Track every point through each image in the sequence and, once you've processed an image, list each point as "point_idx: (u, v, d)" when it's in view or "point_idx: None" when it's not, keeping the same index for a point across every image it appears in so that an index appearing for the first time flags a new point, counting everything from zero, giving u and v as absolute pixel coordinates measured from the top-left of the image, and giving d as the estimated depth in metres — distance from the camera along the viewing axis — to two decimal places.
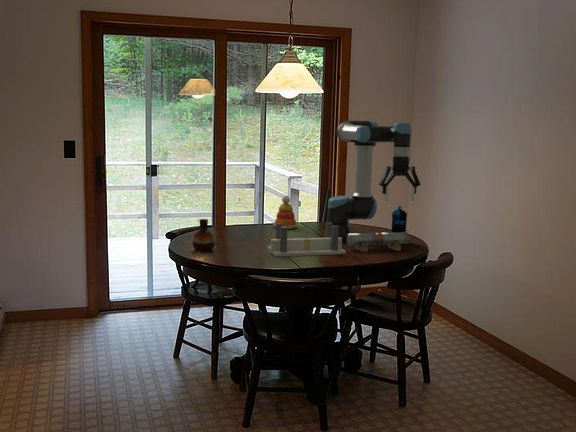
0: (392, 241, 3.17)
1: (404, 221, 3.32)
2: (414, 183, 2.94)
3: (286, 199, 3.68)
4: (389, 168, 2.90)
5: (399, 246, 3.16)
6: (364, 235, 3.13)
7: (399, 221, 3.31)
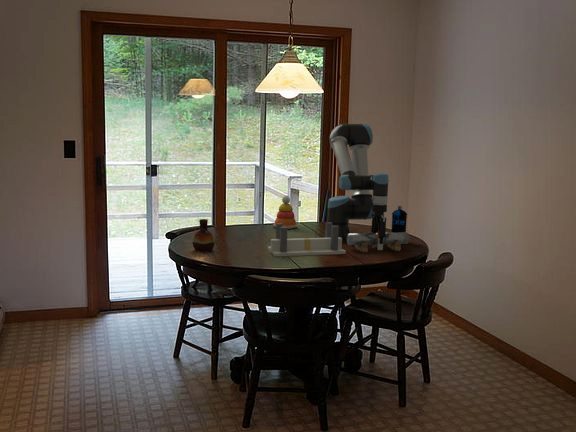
0: (392, 241, 3.17)
1: (404, 221, 3.32)
2: (379, 233, 3.13)
3: (286, 199, 3.68)
4: (372, 215, 3.21)
5: (399, 246, 3.16)
6: (364, 235, 3.13)
7: (399, 221, 3.31)
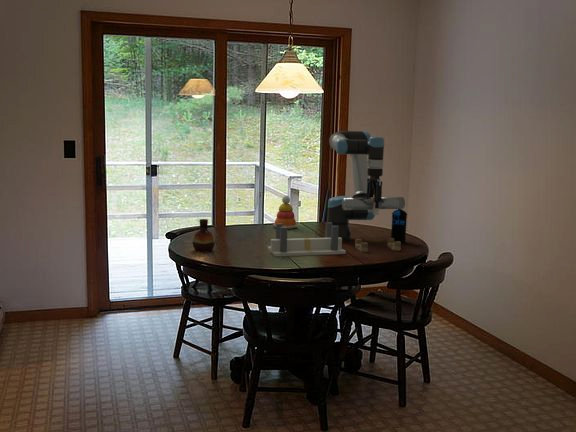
0: (388, 206, 3.13)
1: (404, 221, 3.32)
2: (374, 197, 3.09)
3: (286, 199, 3.68)
4: (367, 180, 3.17)
5: (399, 246, 3.16)
6: (360, 199, 3.09)
7: (399, 221, 3.31)
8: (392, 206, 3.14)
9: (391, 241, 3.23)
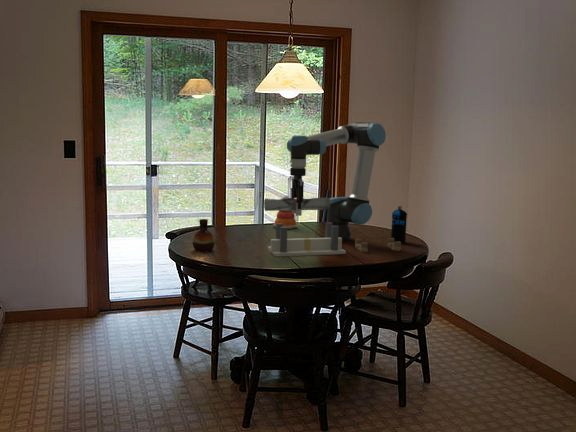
0: (312, 207, 3.03)
1: (404, 221, 3.32)
2: (297, 198, 2.99)
3: None
4: (292, 180, 3.07)
5: (399, 246, 3.16)
6: (281, 200, 3.00)
7: (399, 221, 3.31)
8: (317, 207, 3.04)
9: (391, 241, 3.23)
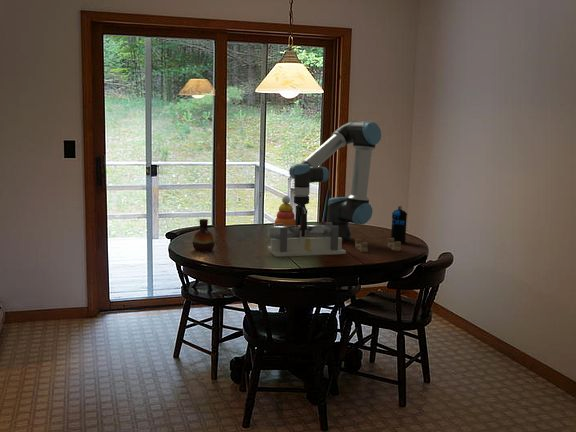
0: (315, 234, 3.06)
1: (404, 221, 3.32)
2: (300, 226, 3.02)
3: (286, 199, 3.68)
4: None
5: (399, 246, 3.16)
6: None
7: (399, 221, 3.31)
8: (320, 235, 3.07)
9: (391, 241, 3.23)
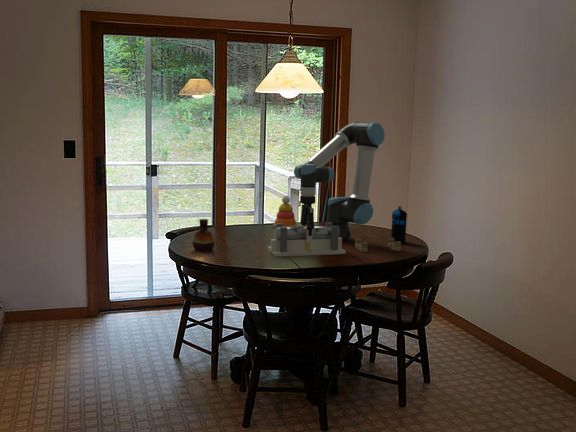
0: (321, 235, 3.07)
1: (404, 221, 3.32)
2: (307, 225, 3.01)
3: (286, 199, 3.68)
4: None
5: (399, 246, 3.16)
6: (292, 229, 3.04)
7: (399, 221, 3.31)
8: (326, 236, 3.08)
9: (391, 241, 3.23)
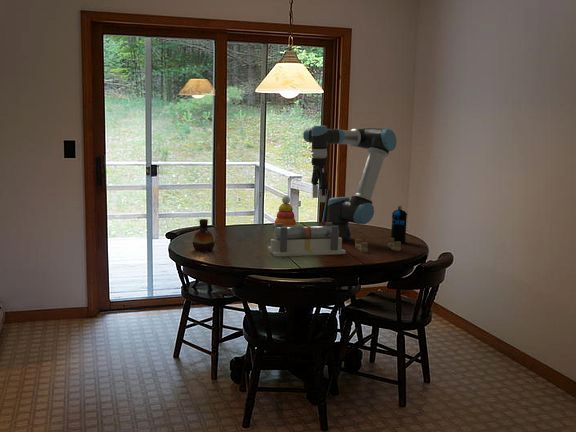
0: (321, 234, 3.07)
1: (404, 221, 3.32)
2: (320, 185, 3.00)
3: (286, 199, 3.68)
4: (313, 167, 3.11)
5: (399, 246, 3.16)
6: (291, 228, 3.05)
7: (399, 221, 3.31)
8: (326, 234, 3.08)
9: (391, 241, 3.23)
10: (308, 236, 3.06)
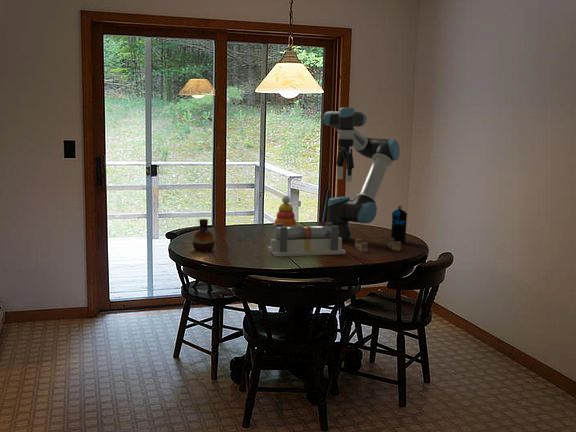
0: (321, 233, 3.07)
1: (404, 221, 3.32)
2: (347, 165, 3.07)
3: (286, 199, 3.68)
4: (339, 149, 3.18)
5: (399, 246, 3.16)
6: (291, 228, 3.05)
7: (399, 221, 3.31)
8: (326, 234, 3.08)
9: (391, 241, 3.23)
10: (308, 236, 3.06)
